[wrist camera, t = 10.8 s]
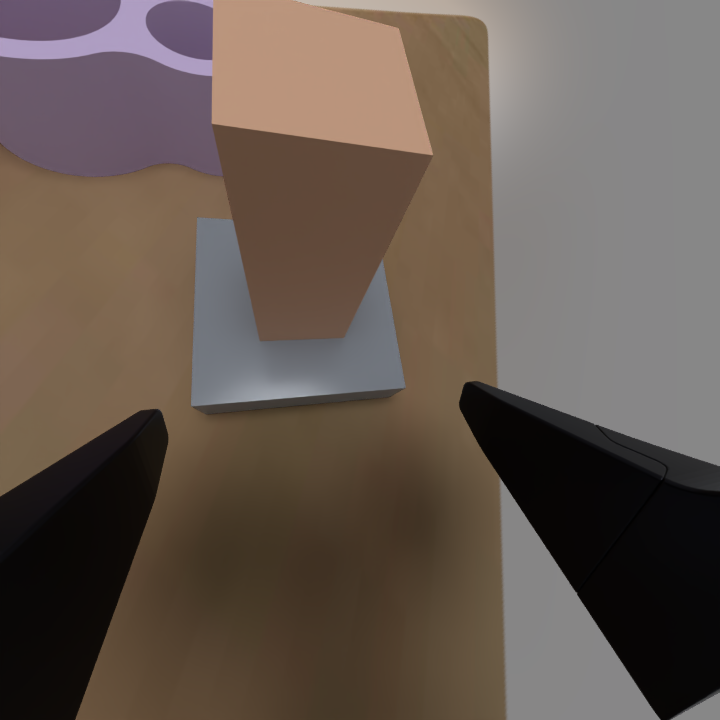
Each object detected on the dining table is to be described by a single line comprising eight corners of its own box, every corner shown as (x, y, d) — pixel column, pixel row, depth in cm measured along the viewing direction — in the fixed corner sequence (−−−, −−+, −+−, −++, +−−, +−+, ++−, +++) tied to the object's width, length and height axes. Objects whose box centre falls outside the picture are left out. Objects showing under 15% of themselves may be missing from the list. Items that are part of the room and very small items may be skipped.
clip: (267, 100, 28) (262, -8, 21) (260, 204, 24) (251, 111, 17) (-1, 38, 23) (-113, -125, 16) (-64, 156, 19) (-241, 4, 13)
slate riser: (389, 397, 21) (405, 387, 18) (205, 414, 18) (190, 406, 15) (366, 255, 24) (377, 229, 22) (208, 248, 21) (197, 217, 18)
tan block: (344, 337, 18) (433, 155, 7) (259, 341, 17) (211, 123, 6) (335, 269, 20) (398, 28, 9) (256, 267, 18) (213, -21, 7)
